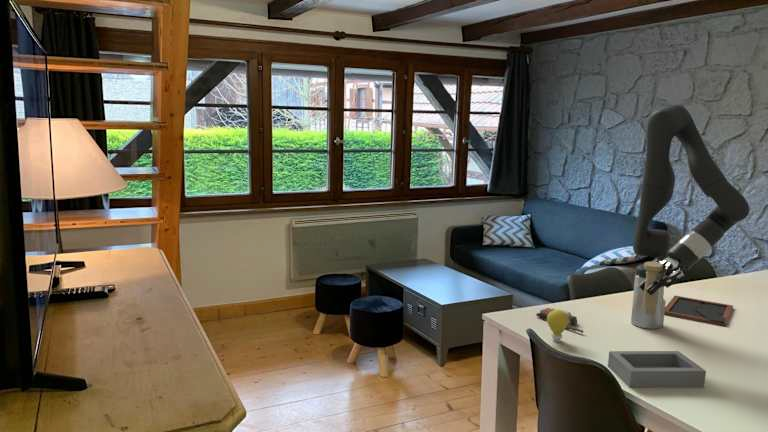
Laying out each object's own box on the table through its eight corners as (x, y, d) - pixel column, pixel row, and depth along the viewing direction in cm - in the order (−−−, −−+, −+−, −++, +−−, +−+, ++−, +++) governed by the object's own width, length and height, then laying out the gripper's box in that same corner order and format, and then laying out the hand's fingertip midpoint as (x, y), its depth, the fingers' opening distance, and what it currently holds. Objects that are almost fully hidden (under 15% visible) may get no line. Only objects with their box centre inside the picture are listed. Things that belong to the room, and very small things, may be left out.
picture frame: (725, 328, 193) (732, 310, 213) (725, 322, 192) (733, 304, 212) (661, 316, 204) (674, 299, 224) (661, 310, 204) (674, 294, 224)
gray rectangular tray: (676, 365, 160) (678, 351, 160) (704, 387, 147) (706, 370, 147) (607, 366, 159) (609, 351, 159) (629, 387, 147) (630, 371, 146)
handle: (660, 311, 168) (664, 263, 165) (656, 318, 162) (660, 267, 160) (642, 308, 170) (646, 260, 168) (638, 314, 165) (642, 265, 163)
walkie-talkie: (531, 319, 199) (580, 336, 183) (532, 307, 198) (581, 323, 182) (547, 314, 204) (596, 331, 188) (548, 302, 203) (597, 318, 187)
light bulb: (542, 336, 181) (544, 306, 180) (562, 336, 182) (564, 306, 180) (550, 344, 175) (552, 313, 173) (571, 344, 175) (573, 313, 174)
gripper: (667, 236, 170) (625, 275, 172) (695, 246, 156) (648, 289, 158) (683, 253, 171) (640, 292, 173) (711, 265, 157) (665, 307, 159)
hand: (644, 290), depth 165 cm, fingers closed on handle, 3 cm apart
